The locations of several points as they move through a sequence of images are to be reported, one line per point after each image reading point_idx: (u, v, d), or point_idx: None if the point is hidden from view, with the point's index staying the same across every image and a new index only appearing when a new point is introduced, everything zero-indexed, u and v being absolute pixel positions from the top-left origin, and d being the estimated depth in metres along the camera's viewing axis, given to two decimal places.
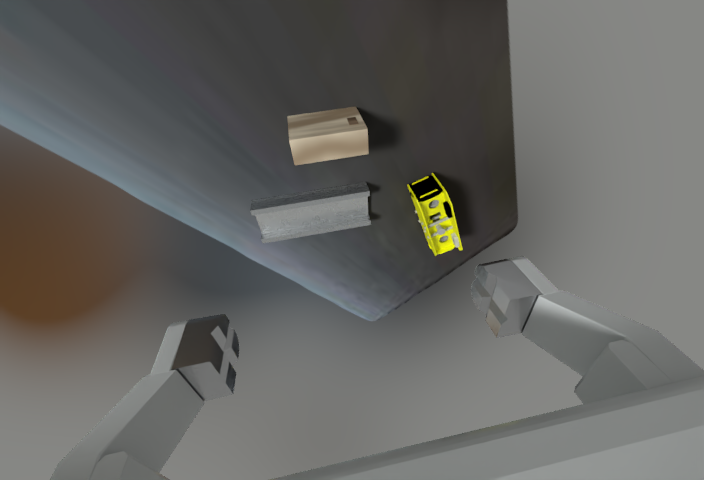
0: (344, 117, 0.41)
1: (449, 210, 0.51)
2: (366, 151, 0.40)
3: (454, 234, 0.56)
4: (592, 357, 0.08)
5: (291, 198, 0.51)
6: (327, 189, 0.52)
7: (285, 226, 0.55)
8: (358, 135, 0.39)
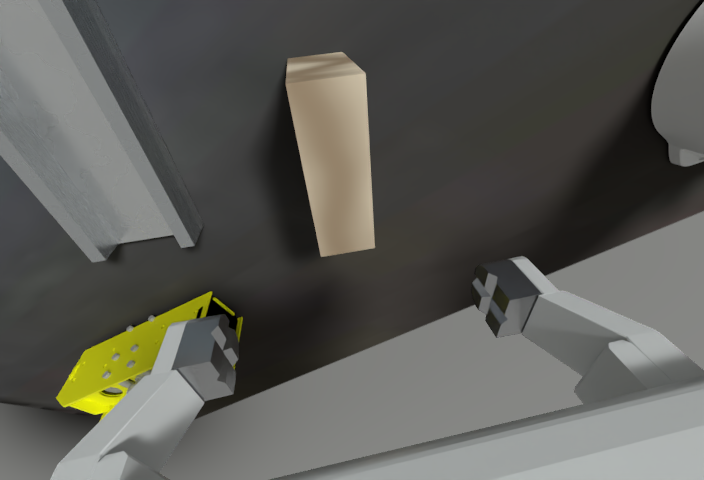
0: None
1: None
2: (326, 252, 0.19)
3: None
4: (593, 357, 0.08)
5: (99, 36, 0.16)
6: (162, 145, 0.21)
7: None
8: (362, 234, 0.19)
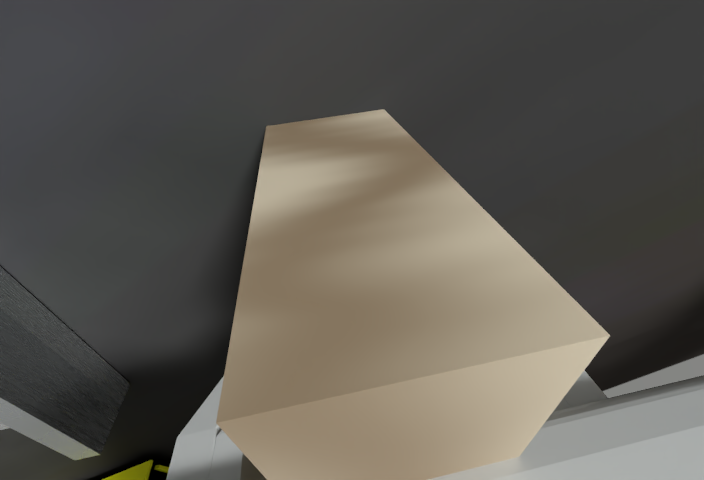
0: None
1: None
2: None
3: None
4: None
5: None
6: (12, 296, 0.10)
7: None
8: None
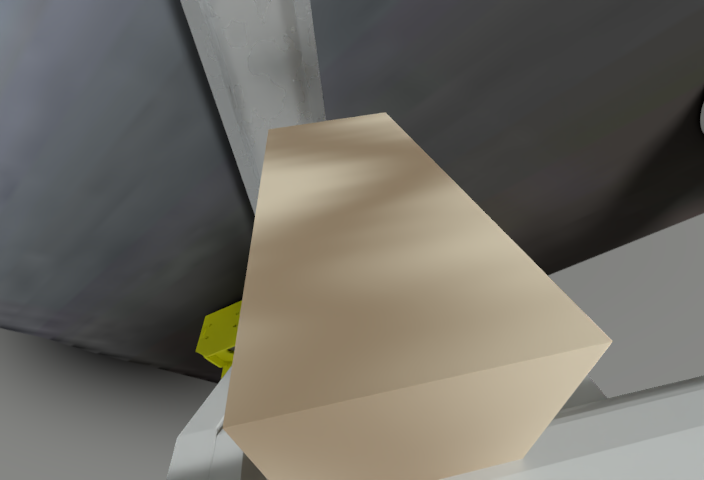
0: None
1: None
2: None
3: None
4: None
5: None
6: None
7: (221, 33, 0.20)
8: None
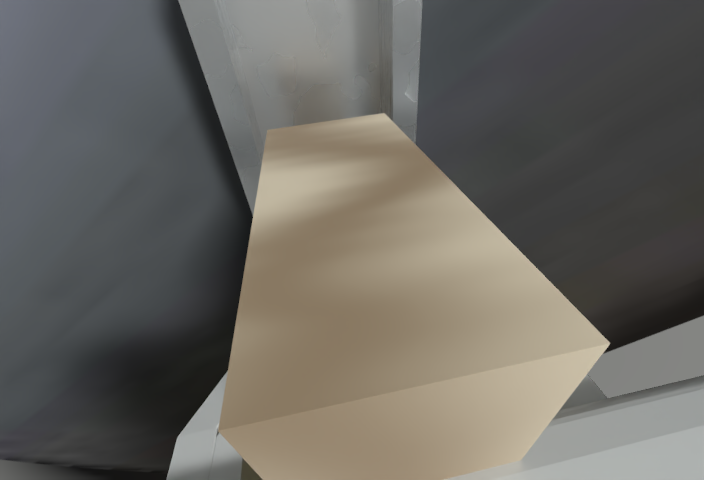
0: None
1: None
2: None
3: None
4: None
5: None
6: None
7: (254, 74, 0.12)
8: None
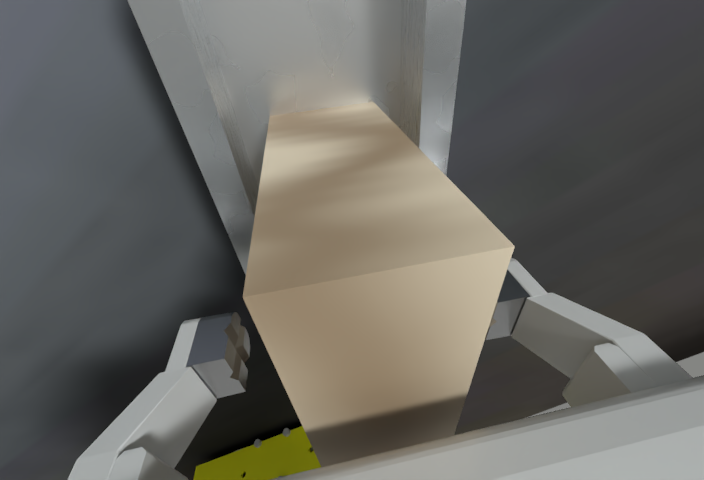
0: None
1: None
2: None
3: None
4: (580, 360, 0.08)
5: None
6: None
7: (242, 98, 0.09)
8: None
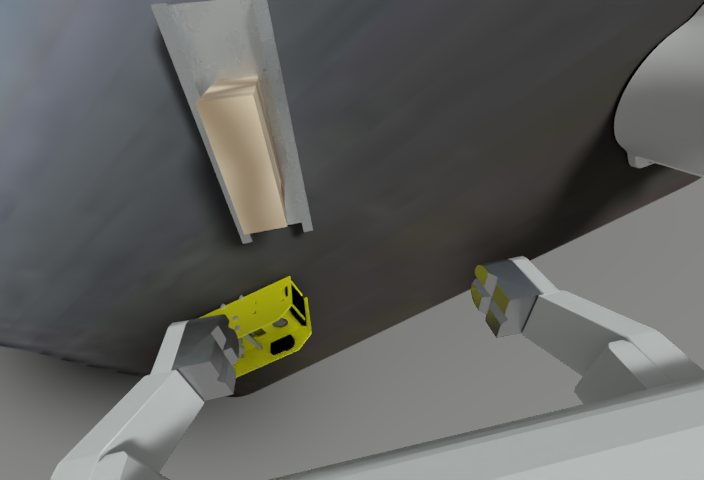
0: (279, 178, 0.27)
1: (285, 348, 0.36)
2: (248, 231, 0.24)
3: (233, 366, 0.38)
4: (592, 357, 0.08)
5: None
6: None
7: (203, 73, 0.24)
8: (275, 215, 0.24)
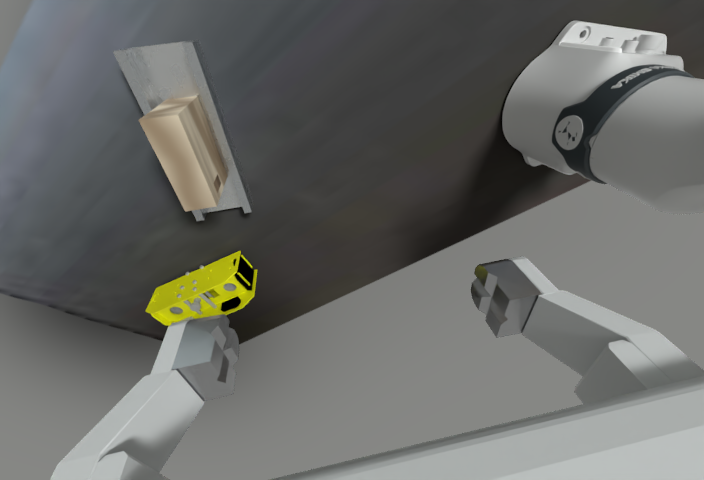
0: (216, 170, 0.36)
1: (232, 307, 0.46)
2: (188, 208, 0.34)
3: None
4: (592, 357, 0.08)
5: (219, 110, 0.35)
6: (238, 158, 0.40)
7: (156, 94, 0.33)
8: (206, 197, 0.33)
